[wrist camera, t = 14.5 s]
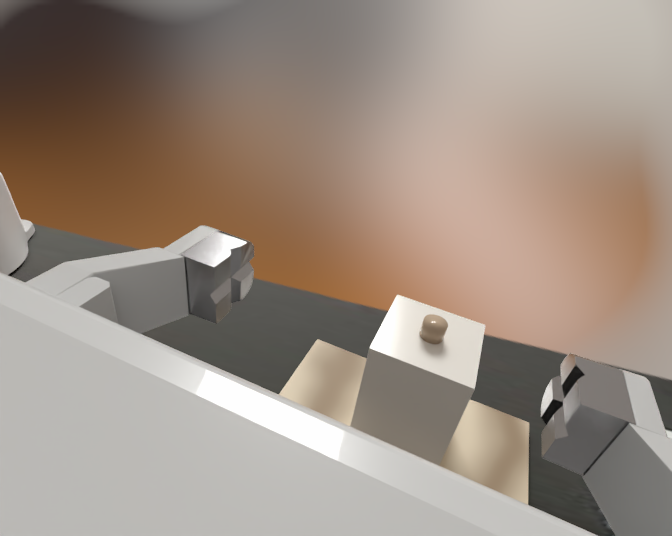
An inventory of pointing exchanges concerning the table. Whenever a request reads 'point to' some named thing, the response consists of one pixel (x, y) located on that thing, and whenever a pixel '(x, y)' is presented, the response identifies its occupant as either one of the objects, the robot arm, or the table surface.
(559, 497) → the table surface
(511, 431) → the mat
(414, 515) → the robot arm
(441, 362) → the tall white canister
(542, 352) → the table surface
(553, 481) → the table surface
